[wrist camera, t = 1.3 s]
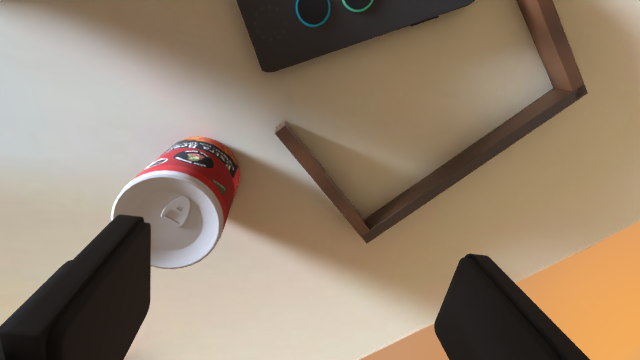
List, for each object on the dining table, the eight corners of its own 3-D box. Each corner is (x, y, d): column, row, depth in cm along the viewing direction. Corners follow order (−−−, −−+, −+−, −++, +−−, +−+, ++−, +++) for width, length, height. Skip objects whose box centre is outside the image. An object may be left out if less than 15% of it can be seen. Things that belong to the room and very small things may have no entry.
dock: (275, 127, 33) (274, 133, 31) (508, -56, 29) (528, -65, 27) (362, 232, 38) (366, 243, 36) (567, 90, 34) (588, 93, 32)
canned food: (250, 148, 33) (235, 192, 23) (228, 215, 36) (206, 281, 26) (173, 122, 32) (120, 157, 22) (155, 194, 34) (101, 256, 24)
